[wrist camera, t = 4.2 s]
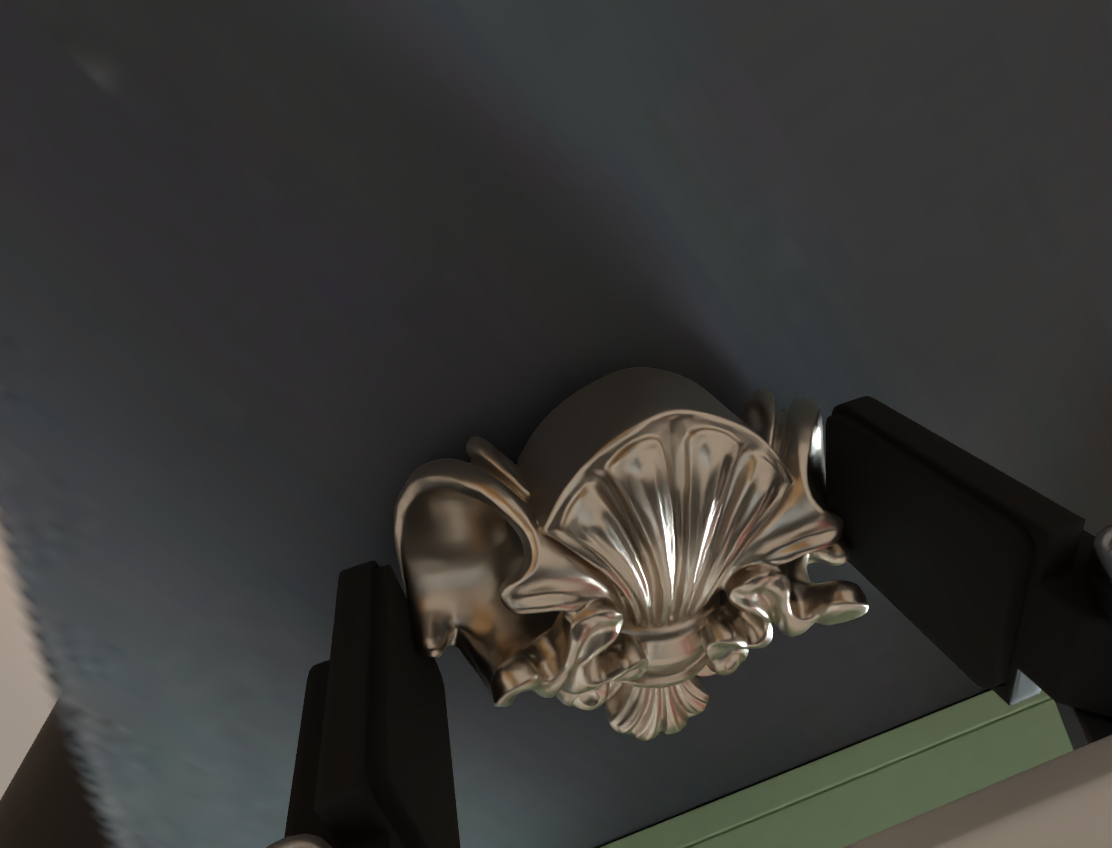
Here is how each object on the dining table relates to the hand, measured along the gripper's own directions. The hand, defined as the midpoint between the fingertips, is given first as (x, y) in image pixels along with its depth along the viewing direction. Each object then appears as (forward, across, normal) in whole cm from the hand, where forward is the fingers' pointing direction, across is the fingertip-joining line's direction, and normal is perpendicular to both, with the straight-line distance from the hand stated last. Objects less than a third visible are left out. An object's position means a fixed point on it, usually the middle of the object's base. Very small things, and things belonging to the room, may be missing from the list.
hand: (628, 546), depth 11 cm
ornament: (+1, 0, 0) cm, 1 cm away
